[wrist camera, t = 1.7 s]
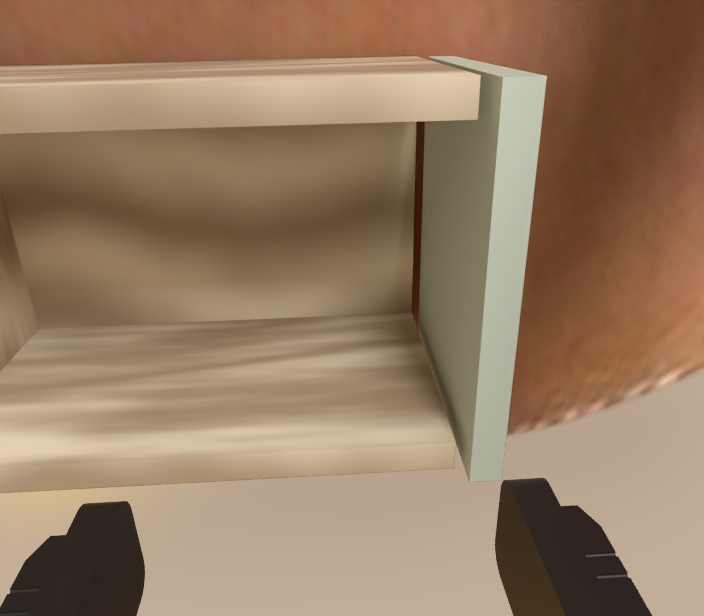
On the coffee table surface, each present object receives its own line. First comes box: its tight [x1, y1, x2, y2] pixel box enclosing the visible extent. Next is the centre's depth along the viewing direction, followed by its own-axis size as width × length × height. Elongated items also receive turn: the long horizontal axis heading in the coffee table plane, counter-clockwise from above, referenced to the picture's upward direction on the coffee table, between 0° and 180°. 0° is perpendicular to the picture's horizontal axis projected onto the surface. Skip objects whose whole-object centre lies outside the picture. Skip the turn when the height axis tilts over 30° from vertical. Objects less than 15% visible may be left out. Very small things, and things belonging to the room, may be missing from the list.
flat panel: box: [418, 56, 547, 482], centre depth 24 cm, size 14×1×12 cm, turn 1°
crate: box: [0, 56, 481, 493], centre depth 25 cm, size 14×21×12 cm, turn 91°
